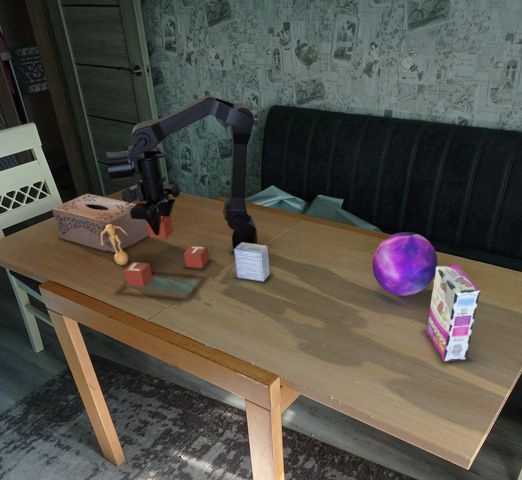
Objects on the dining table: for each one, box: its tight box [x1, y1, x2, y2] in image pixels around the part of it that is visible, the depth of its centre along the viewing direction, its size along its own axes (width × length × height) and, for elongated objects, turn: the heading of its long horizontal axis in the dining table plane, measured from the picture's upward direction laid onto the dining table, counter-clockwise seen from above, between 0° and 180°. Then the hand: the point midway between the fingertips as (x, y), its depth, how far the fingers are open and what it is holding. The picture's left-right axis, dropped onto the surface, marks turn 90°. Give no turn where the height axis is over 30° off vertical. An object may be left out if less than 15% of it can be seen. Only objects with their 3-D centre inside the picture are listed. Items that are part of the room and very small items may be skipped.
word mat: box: [125, 276, 199, 294], centre depth 143 cm, size 20×12×1 cm, turn 73°
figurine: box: [101, 224, 130, 266], centre depth 152 cm, size 8×6×12 cm
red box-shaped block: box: [146, 215, 174, 239], centre depth 149 cm, size 5×5×5 cm
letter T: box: [183, 245, 210, 269], centre depth 150 cm, size 5×5×5 cm
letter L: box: [123, 261, 153, 287], centre depth 143 cm, size 5×5×5 cm
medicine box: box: [233, 242, 271, 283], centre depth 141 cm, size 8×4×9 cm, turn 65°
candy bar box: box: [426, 264, 481, 362], centre depth 108 cm, size 11×5×16 cm, turn 5°
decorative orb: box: [372, 231, 439, 297], centre depth 128 cm, size 15×15×15 cm
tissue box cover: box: [51, 193, 150, 254], centre depth 169 cm, size 26×14×10 cm, turn 56°
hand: (161, 230), depth 149 cm, fingers closed on red box-shaped block, 5 cm apart
